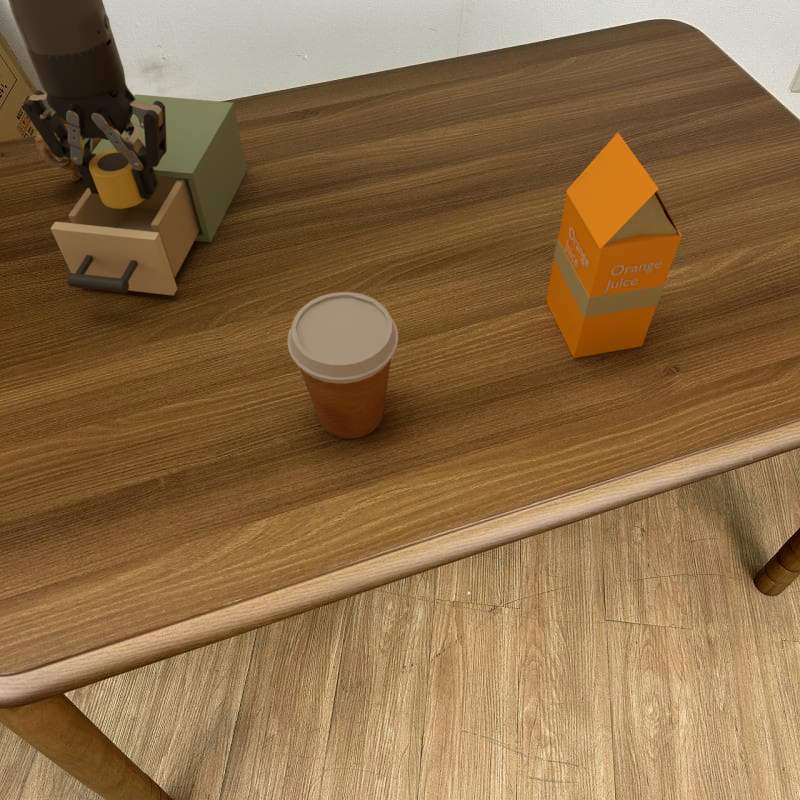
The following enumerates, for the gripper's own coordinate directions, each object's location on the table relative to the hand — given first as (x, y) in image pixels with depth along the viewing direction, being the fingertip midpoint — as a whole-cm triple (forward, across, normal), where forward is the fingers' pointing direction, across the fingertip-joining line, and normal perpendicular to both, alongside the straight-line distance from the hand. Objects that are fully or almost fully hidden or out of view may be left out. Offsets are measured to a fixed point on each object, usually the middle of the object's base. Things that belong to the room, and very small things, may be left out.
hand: (124, 191), depth 79 cm
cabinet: (+9, 0, +11) cm, 15 cm away
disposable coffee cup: (+10, +28, -18) cm, 35 cm away
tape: (0, 0, 0) cm, 0 cm away
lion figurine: (+10, -12, +15) cm, 22 cm away
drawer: (+8, 0, -2) cm, 9 cm away
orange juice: (+10, +51, -2) cm, 52 cm away
